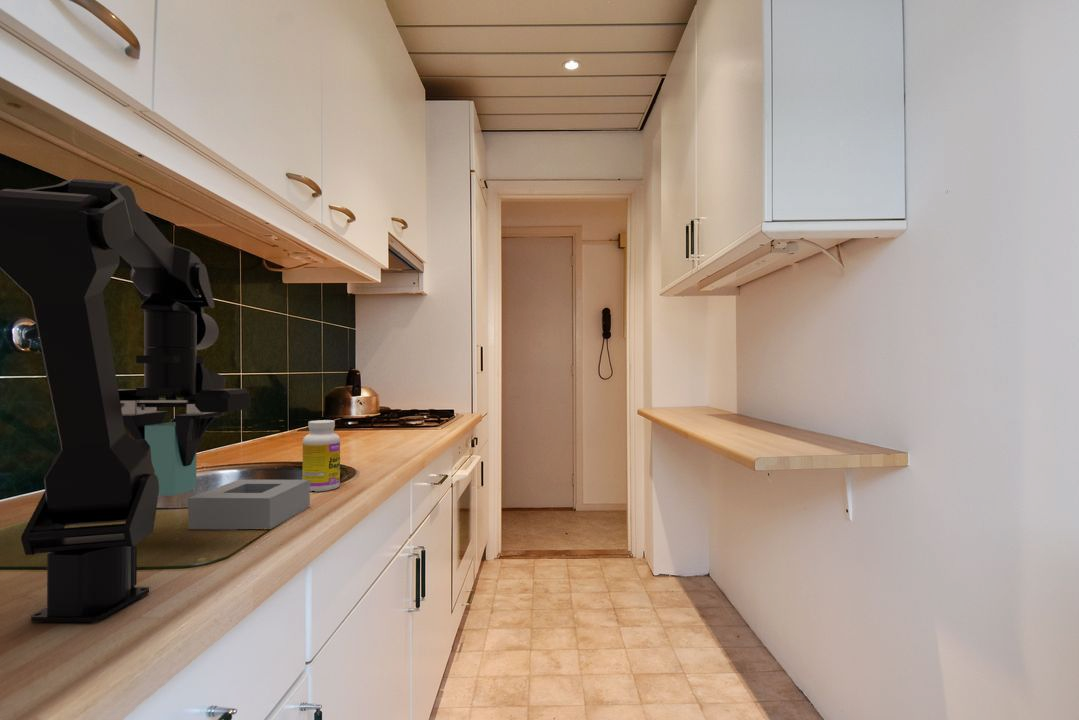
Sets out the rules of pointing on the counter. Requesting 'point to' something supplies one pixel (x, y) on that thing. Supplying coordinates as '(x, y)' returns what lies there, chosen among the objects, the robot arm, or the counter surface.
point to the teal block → (169, 460)
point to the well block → (248, 504)
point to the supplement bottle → (321, 456)
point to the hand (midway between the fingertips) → (171, 465)
